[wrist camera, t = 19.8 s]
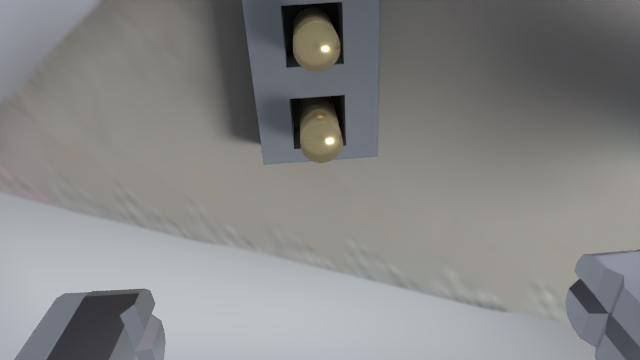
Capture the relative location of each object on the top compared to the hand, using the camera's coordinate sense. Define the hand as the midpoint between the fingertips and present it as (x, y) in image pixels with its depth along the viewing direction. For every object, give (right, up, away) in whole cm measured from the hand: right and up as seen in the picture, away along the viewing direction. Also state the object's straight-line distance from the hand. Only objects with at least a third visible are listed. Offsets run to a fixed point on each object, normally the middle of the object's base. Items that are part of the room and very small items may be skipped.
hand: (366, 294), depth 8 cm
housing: (-1, +12, +29) cm, 31 cm away
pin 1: (-2, +15, +27) cm, 31 cm away
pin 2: (-1, +9, +30) cm, 32 cm away
